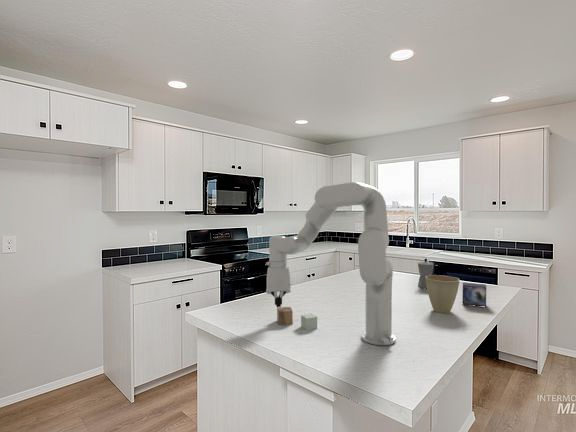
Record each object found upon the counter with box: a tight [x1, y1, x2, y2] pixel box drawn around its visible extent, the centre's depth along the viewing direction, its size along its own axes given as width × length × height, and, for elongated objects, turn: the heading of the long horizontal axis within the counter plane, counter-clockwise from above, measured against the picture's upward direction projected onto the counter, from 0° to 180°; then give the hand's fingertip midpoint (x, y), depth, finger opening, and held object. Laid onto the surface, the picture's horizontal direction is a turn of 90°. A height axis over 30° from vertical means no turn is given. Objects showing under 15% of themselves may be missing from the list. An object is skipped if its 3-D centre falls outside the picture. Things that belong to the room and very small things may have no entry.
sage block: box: [300, 313, 318, 331], centre depth 139 cm, size 5×5×5 cm
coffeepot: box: [417, 258, 437, 289], centre depth 208 cm, size 15×9×18 cm, turn 118°
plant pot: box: [426, 274, 460, 314], centre depth 160 cm, size 15×15×16 cm
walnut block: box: [276, 306, 294, 326], centre depth 145 cm, size 6×6×6 cm
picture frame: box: [462, 282, 487, 308], centre depth 169 cm, size 11×6×10 cm, turn 62°
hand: (278, 306), depth 145 cm, fingers closed
